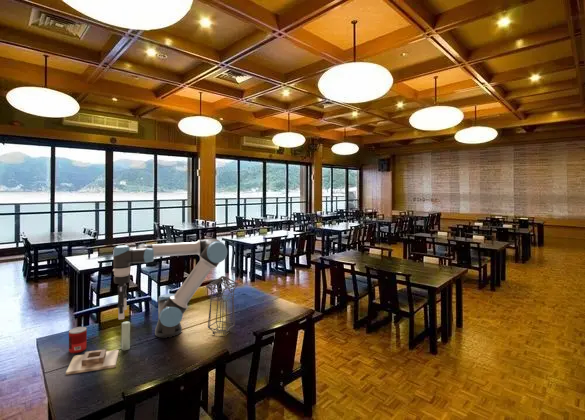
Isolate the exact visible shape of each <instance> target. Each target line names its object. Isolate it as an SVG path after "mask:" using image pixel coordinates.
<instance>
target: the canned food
mask: <svg viewBox="0 0 585 420" xmlns="http://www.w3.org/2000/svg"><path fill="white" fill-rule="evenodd" d="M87 337H88V330H87V327H86V326H77V327H74V328H73V327H72V328H70V330H69V331H68V352H69V353H70V354H78V353H82V352H85V350H87V347H88V346H87V345H88V344H87V343H88V341H87V339H88V338H87Z"/></svg>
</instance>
